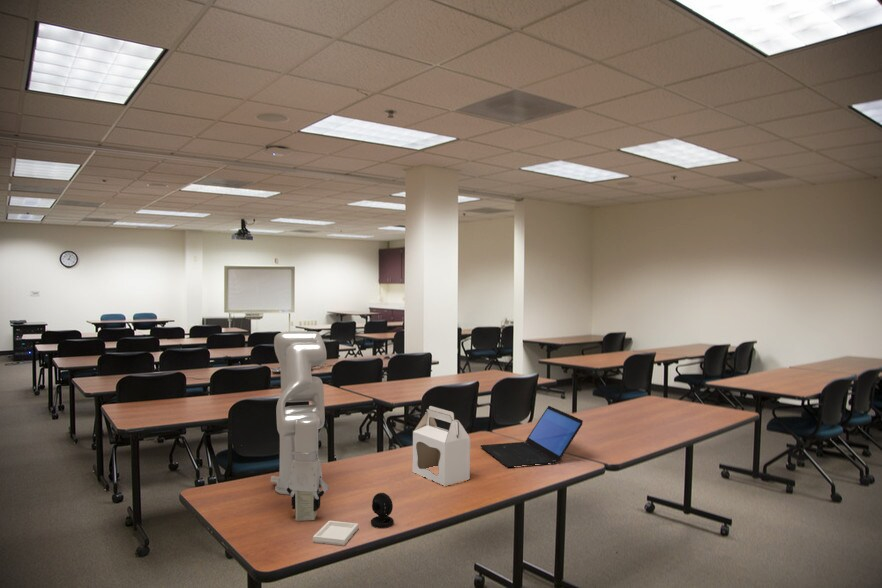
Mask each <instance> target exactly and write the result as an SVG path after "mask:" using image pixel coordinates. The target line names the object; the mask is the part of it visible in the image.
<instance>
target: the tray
mask: <svg viewBox="0 0 882 588" xmlns="http://www.w3.org/2000/svg"><path fill="white" fill-rule="evenodd" d="M358 530H359V523H357V522H356V523H355V522H347V521H346V522H345V521H336V520H328V521H327V522H326V523H325V524H324V525H322V527H321V528H319V530H318V531H316V533H315V534H314V535H313V536H312V543H313V542H315V544H322V543H325V544H324V545H331V544H332V545H333V546H340V545H343V546H342V547H345V546H346V545H345V544H348V542H349V541H350V540H351V539H352V537H353V536H354V535H355V534H356V533H357V531H358ZM355 532H356V533H355ZM354 533H355V534H354ZM353 534H354V535H353ZM350 538H351V539H350ZM349 539H350V540H349ZM348 540H349V541H348ZM344 545H345V546H344Z"/></svg>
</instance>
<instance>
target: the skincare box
mask: <svg viewBox="0 0 882 588" xmlns="http://www.w3.org/2000/svg"><path fill="white" fill-rule="evenodd" d="M314 499H315V497H314V494H313V492H302V491H296V490H295V509H294V510H295V521H297V522H298V521H299V522H300V521H315V519H316V517H317V511H313V503H314Z"/></svg>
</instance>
